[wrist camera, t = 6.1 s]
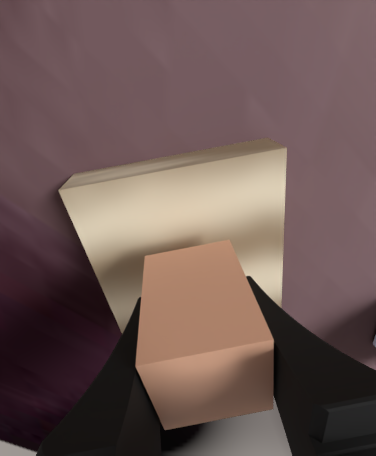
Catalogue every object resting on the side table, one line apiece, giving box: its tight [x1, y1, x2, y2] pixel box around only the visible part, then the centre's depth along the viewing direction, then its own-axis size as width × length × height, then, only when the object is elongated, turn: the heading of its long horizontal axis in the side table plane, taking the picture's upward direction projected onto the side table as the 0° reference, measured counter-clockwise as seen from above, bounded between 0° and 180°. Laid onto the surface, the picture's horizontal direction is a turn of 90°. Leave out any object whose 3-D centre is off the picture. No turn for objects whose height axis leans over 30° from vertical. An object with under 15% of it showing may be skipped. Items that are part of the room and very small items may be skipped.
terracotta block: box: [135, 240, 274, 430], centre depth 12 cm, size 4×4×6 cm
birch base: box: [58, 138, 287, 334], centre depth 18 cm, size 12×12×3 cm
